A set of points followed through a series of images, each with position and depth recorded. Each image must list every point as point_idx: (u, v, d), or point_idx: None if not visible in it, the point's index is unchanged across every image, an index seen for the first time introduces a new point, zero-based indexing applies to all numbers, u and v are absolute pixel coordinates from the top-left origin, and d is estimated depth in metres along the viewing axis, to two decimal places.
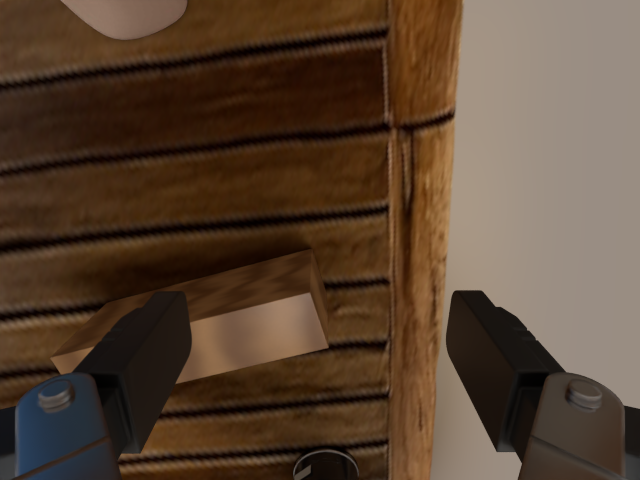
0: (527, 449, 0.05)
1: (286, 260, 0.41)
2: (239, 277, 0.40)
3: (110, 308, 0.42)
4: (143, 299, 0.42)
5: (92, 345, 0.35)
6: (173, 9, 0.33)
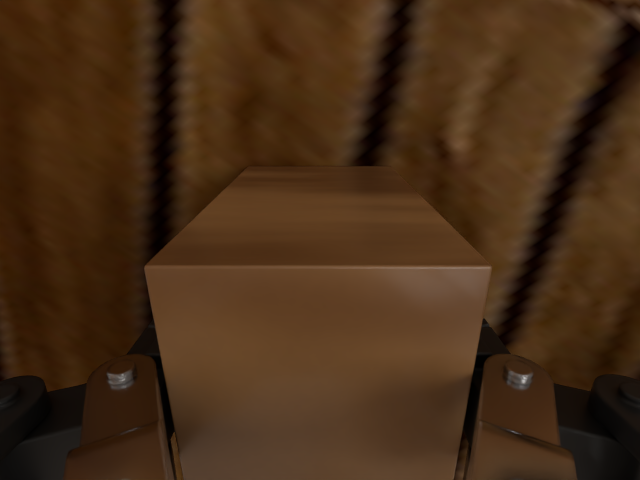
0: (477, 434, 0.05)
1: None
2: None
3: None
4: None
5: None
6: None
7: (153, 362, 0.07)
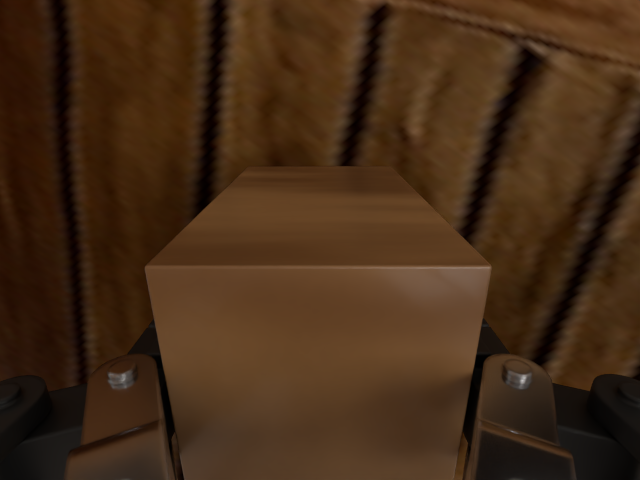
0: (477, 434, 0.05)
1: None
2: None
3: None
4: None
5: None
6: None
7: (154, 362, 0.07)
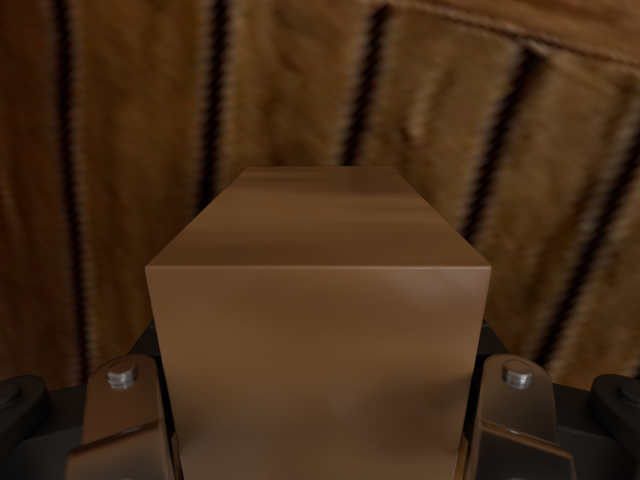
0: (477, 434, 0.05)
1: None
2: None
3: None
4: None
5: None
6: None
7: (153, 362, 0.07)
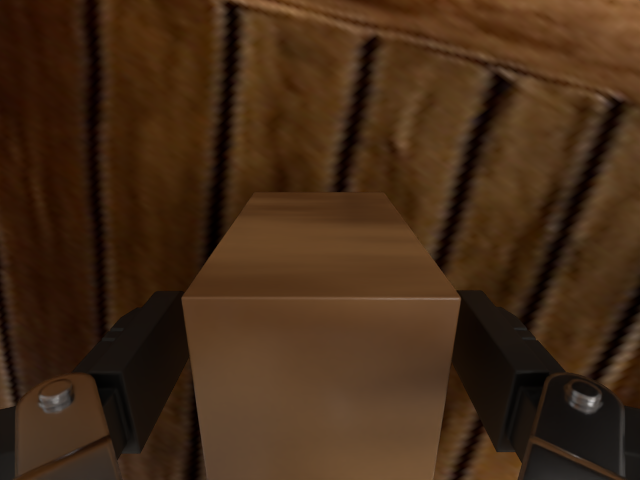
0: (527, 449, 0.05)
1: None
2: None
3: None
4: None
5: None
6: None
7: (93, 382, 0.07)
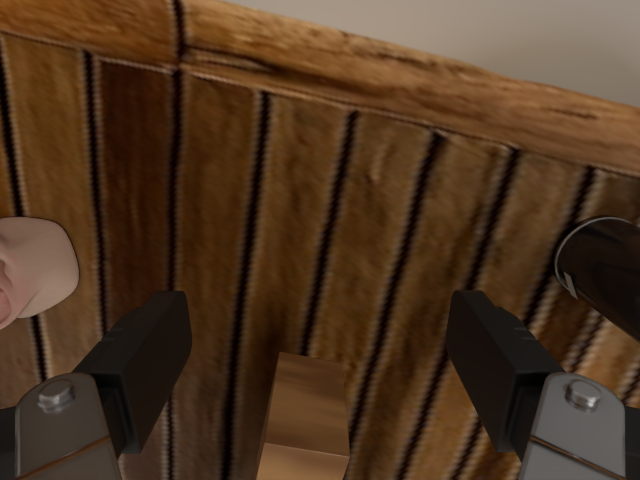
0: (527, 449, 0.05)
1: (272, 387, 0.35)
2: (261, 438, 0.35)
3: None
4: None
5: None
6: (56, 234, 0.40)
7: (93, 382, 0.07)
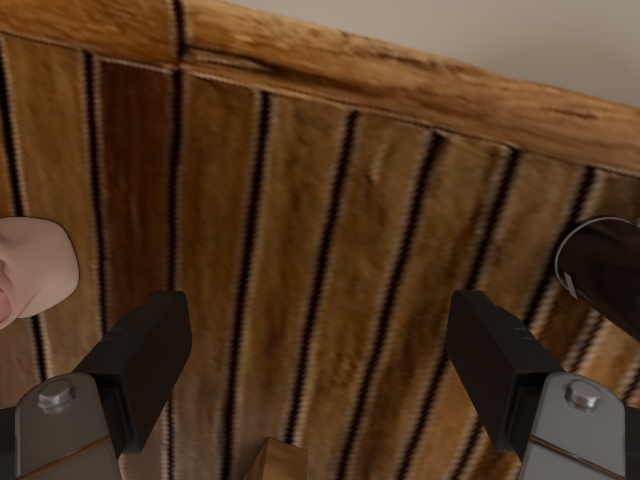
0: (527, 449, 0.05)
1: (258, 460, 0.52)
2: None
3: None
4: None
5: None
6: (56, 234, 0.40)
7: (93, 382, 0.07)
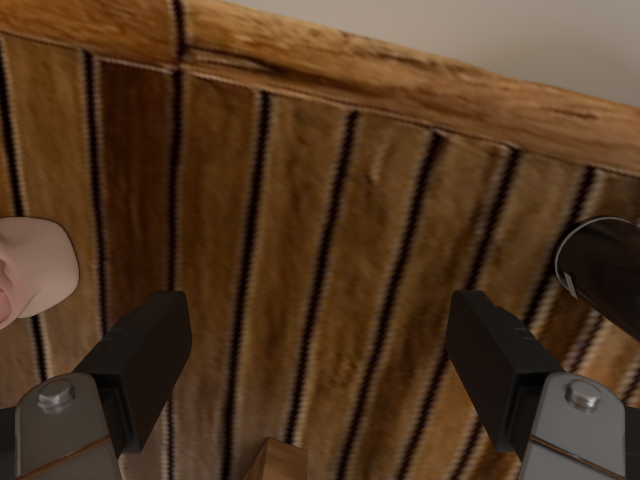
0: (527, 449, 0.05)
1: (258, 460, 0.52)
2: None
3: None
4: None
5: None
6: (56, 234, 0.40)
7: (93, 382, 0.07)
